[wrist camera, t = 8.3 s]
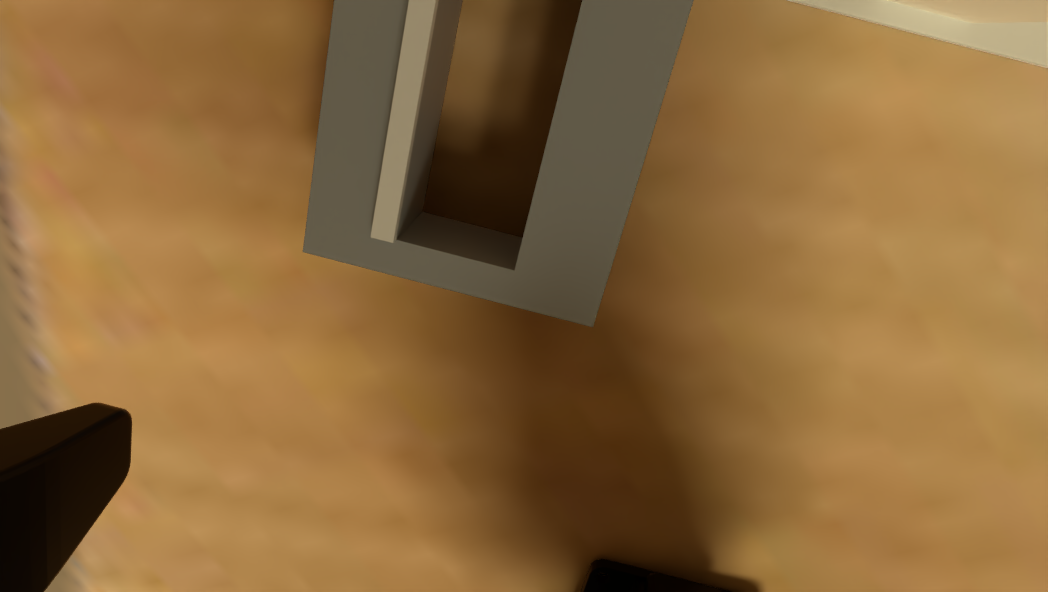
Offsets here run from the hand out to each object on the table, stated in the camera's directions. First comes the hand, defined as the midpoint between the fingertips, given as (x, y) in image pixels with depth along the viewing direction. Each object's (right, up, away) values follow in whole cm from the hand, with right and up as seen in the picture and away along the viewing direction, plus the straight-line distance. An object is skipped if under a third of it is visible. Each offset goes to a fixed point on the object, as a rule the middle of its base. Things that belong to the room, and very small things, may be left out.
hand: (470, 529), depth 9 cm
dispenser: (0, +9, +11) cm, 14 cm away
